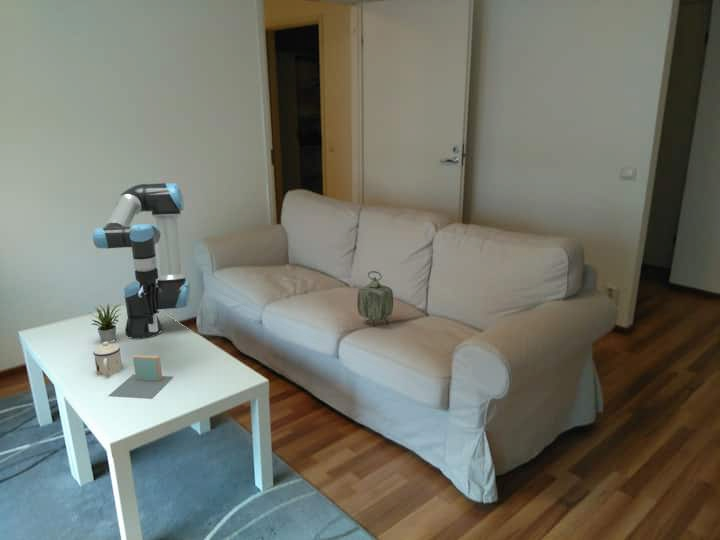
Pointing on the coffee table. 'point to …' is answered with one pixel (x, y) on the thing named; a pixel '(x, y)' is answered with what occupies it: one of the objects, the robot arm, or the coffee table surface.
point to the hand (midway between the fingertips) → (153, 331)
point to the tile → (147, 367)
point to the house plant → (106, 324)
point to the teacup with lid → (107, 359)
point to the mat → (140, 388)
